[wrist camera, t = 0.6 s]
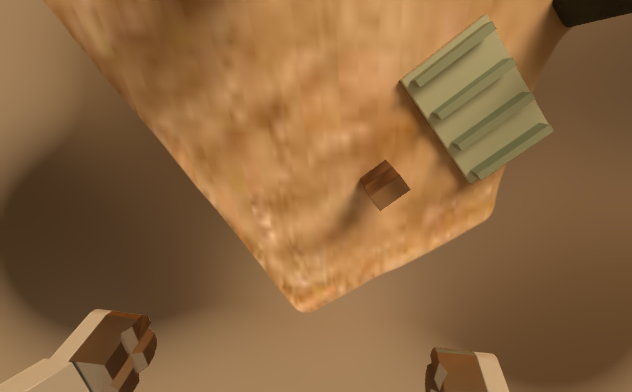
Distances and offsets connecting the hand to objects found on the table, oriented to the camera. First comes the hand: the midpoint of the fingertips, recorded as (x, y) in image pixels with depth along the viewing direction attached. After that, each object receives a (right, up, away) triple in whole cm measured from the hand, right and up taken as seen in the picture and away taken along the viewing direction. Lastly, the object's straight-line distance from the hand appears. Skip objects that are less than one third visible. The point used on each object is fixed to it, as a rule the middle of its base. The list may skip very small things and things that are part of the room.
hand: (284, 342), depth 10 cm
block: (+11, +8, +46) cm, 48 cm away
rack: (+25, +18, +42) cm, 52 cm away
